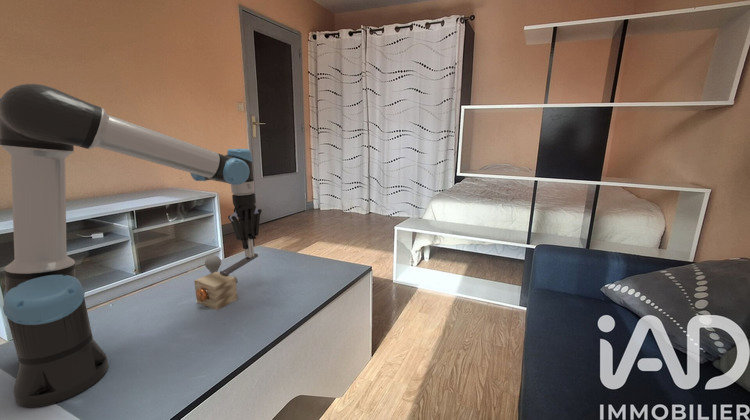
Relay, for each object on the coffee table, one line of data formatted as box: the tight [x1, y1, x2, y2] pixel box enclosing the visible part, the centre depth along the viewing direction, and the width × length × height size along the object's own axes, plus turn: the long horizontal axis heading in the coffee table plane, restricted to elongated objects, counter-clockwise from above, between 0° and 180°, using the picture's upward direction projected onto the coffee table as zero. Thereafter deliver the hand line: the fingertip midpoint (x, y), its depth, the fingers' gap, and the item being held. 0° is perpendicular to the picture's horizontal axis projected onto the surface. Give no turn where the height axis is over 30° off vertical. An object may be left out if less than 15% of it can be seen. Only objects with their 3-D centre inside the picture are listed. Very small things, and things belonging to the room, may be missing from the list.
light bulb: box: [204, 255, 222, 274], centre depth 122 cm, size 5×6×10 cm
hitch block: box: [193, 271, 238, 311], centre depth 107 cm, size 8×10×8 cm
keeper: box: [219, 252, 259, 276], centre depth 114 cm, size 15×3×1 cm, turn 152°
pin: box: [195, 276, 238, 302], centre depth 107 cm, size 13×4×4 cm, turn 152°
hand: (249, 256), depth 118 cm, fingers closed
